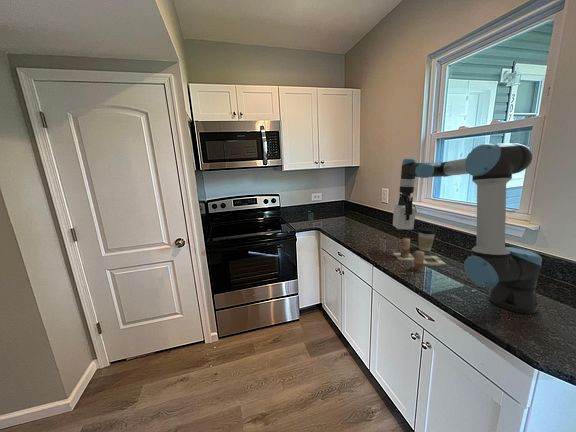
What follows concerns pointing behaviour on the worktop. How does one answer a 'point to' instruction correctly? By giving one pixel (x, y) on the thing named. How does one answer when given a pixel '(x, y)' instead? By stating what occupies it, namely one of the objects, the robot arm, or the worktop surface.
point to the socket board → (437, 262)
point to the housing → (402, 217)
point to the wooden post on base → (404, 250)
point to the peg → (418, 261)
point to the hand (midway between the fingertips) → (403, 223)
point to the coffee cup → (426, 238)
